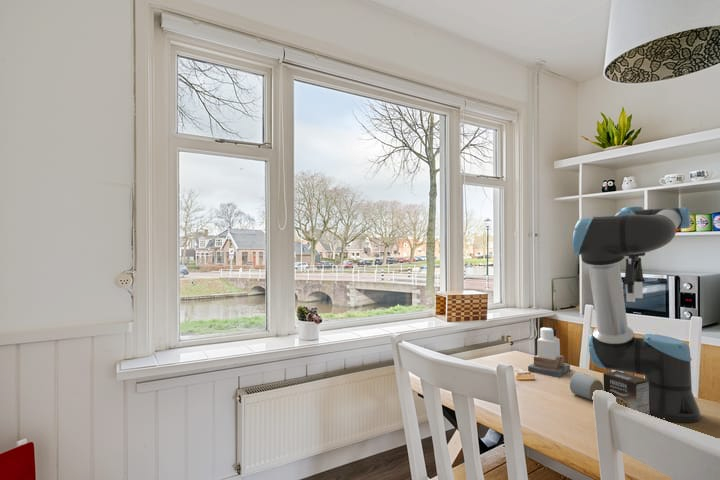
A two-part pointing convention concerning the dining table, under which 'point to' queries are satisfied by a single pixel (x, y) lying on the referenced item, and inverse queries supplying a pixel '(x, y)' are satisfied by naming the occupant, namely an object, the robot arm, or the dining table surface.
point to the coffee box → (628, 390)
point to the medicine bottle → (548, 343)
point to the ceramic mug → (584, 385)
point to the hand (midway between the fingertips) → (634, 299)
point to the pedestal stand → (549, 366)
